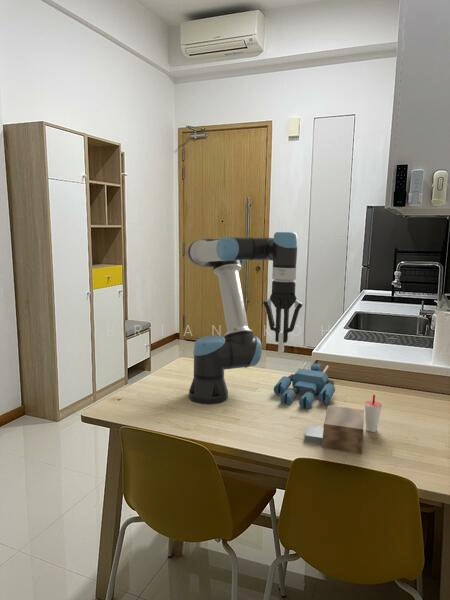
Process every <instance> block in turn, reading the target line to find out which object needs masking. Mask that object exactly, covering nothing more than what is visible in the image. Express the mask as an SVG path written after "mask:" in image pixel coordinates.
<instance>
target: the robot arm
mask: <svg viewBox="0 0 450 600" xmlns="http://www.w3.org/2000/svg"><path fill="white" fill-rule="evenodd" d="M298 247H299V246H298V235H297V233H296V232H291V231H290V232H287V231H286V232H285V231H282V232H281V231H279V232H277V231H275V233H274V234H273V237H238V236H237V237H235V236H234V237H233V236H225V237H220V238H199V239H196V240H194V241H192V242H191V243H190V244H189V246H188V248H187V252H186V253H187V254H186V255H187V258H188V259H189V261H190V262H191V263H192V264H193V265H196V266H197V267H202V268H213V269H212V270H213V274H215V275H216V276H217V277H218V283H219V289H220V290H219V291H220V295H221V301H222V307H223V314H224V320H225V325H226V333H225V334H224V336H223V335H219V334H215V335H206V336H202V337H200V338H198V339H196V341H194V345H193V346H194V347H193V379H192V381H191V384H190V387H189V389H188V398H189V400H190V401H192V402H194V403H199V404H202V405H203V404H206V405H211V404H220V403H222V402H223V403H224V402H225V401H227V400H228V399H229V390H228V387H227V384H226V380H225V370H232V369H241V368H242V369H243V368H246V369H247V368H249V367H255V366H257V365H258V363H259V362H260V360H261V357H262V351H263V349H262V348H263V347H262V342H261V340H260V338H259V337H258V336H255V335H254V331H253V330H252V329H250V328H249V324H248V319H247V313H246V307H245V301H244V295H243V291H242V284H241V278H240V274H239V272H240V271H241V270H242V267H243V265H244V263H245V261H271V262H272V272H271V273H272V274H271V275H272V282H271V294H270V295H269V298H268V299H266V300H264V301H263V302H262V304H263V306H264V307H265V310H266V314H267V320H268V324H269V329H270V331H273V332H274V333H275V338H274V341H275V342H276V343H278V345H277V346H278V348H277V353H281V354H283V353H284V352H285V344H286V343H287V342H288V340H289V333H292V332H293V331H294V330H295V327H296V324H297V319H298V316H299V313H300V310H301V308H302V307H303V305H304V303H303V302H301V301H299V300H297V296H296V281H295V280H296V278H297V260H298V259H297V258H298ZM272 304H273V306H274V308H275V318H274V315H273V311H272V310H273V309H272ZM293 305H294V308H295V309H294V311H293V315H292V319H291V321H289V318H290V309H291V308H292V307H293ZM282 311H283V331H281V325H282V323H281V322H282ZM289 323H290V325H289Z"/></svg>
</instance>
